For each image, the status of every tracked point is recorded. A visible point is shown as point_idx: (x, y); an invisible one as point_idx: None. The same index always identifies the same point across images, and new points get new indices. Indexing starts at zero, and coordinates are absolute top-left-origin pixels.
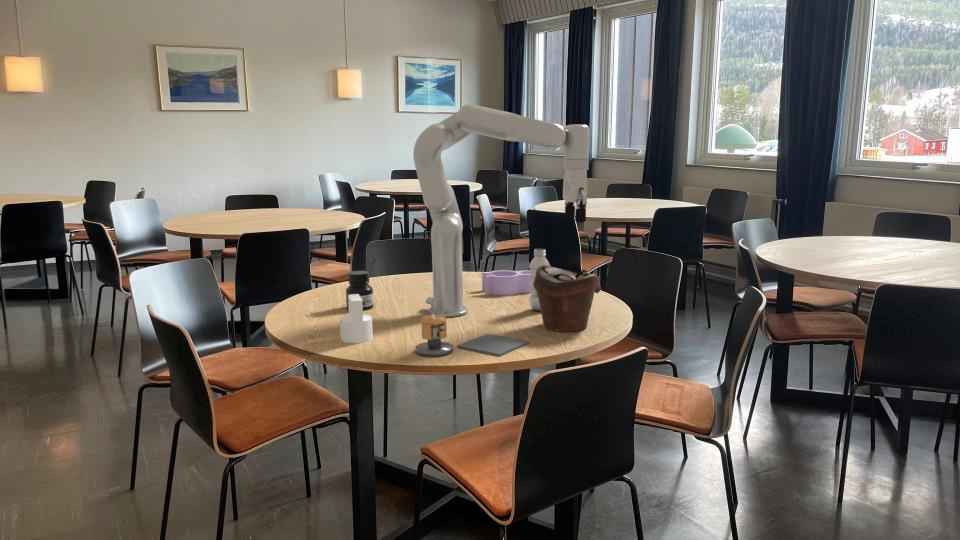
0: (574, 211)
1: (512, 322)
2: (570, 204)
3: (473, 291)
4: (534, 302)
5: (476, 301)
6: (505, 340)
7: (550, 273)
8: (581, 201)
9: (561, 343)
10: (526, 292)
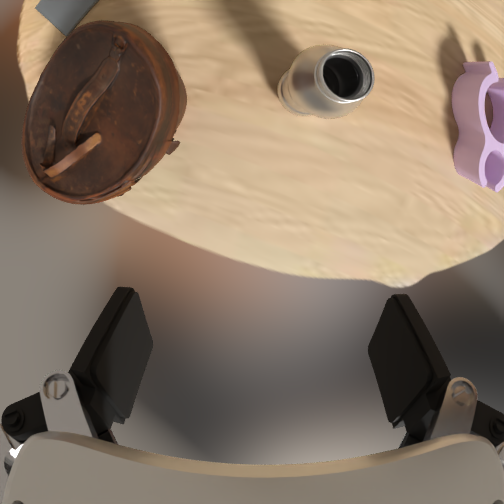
0: (380, 386)
1: (205, 9)
2: (417, 419)
3: (487, 59)
4: (288, 70)
5: (416, 12)
6: (80, 1)
7: (110, 66)
8: (2, 424)
9: None
10: (456, 143)
